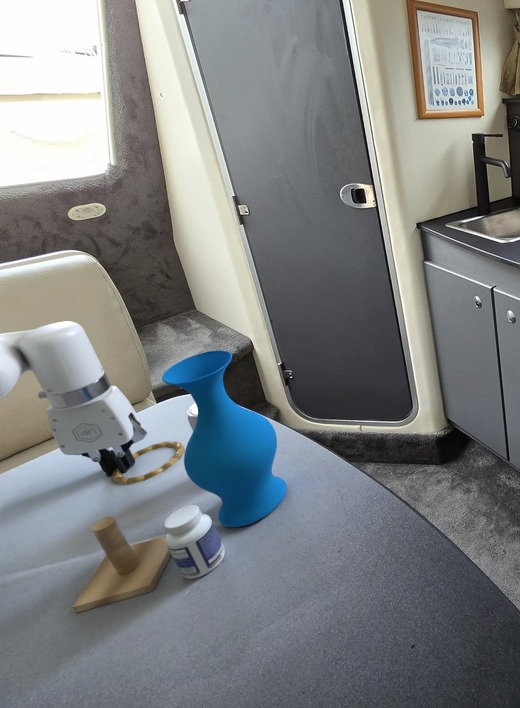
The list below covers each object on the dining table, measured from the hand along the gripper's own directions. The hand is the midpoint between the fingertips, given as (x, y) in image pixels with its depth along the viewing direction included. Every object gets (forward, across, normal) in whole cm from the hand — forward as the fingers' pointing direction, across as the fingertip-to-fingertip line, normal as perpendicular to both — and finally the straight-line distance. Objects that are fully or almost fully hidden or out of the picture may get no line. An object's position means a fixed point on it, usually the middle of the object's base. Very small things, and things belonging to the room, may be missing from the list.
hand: (121, 470), depth 93 cm
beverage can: (0, +21, -8) cm, 22 cm away
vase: (0, +27, -18) cm, 32 cm away
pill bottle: (0, +23, -28) cm, 36 cm away
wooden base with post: (0, +13, -26) cm, 29 cm away
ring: (0, +4, 0) cm, 5 cm away
